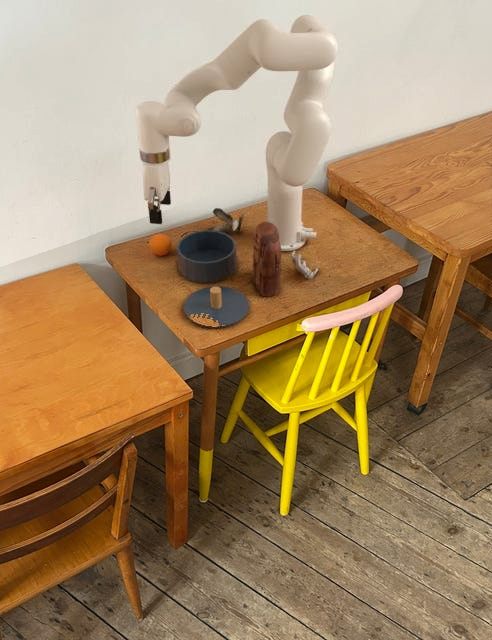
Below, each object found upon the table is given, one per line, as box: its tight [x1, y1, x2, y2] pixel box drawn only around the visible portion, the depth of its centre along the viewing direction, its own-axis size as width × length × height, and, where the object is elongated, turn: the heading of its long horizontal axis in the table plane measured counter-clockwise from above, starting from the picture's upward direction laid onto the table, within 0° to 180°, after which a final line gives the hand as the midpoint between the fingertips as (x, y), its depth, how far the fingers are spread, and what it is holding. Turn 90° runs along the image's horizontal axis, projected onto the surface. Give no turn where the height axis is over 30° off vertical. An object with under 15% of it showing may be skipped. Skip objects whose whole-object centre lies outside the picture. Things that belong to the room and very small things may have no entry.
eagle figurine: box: [210, 207, 245, 234], centre depth 213 cm, size 8×7×9 cm
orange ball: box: [149, 233, 172, 257], centre depth 204 cm, size 6×6×6 cm
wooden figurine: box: [252, 221, 282, 297], centre depth 189 cm, size 12×6×18 cm, turn 16°
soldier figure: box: [289, 250, 319, 282], centre depth 198 cm, size 8×5×12 cm
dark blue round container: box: [176, 229, 238, 284], centre depth 200 cm, size 16×16×6 cm
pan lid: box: [183, 285, 250, 329], centre depth 186 cm, size 16×16×6 cm
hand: (160, 213), depth 195 cm, fingers open, 9 cm apart
